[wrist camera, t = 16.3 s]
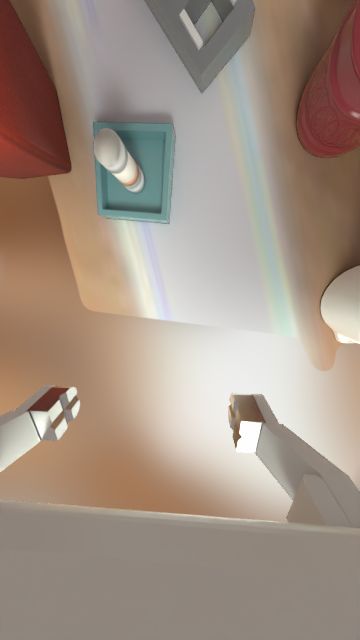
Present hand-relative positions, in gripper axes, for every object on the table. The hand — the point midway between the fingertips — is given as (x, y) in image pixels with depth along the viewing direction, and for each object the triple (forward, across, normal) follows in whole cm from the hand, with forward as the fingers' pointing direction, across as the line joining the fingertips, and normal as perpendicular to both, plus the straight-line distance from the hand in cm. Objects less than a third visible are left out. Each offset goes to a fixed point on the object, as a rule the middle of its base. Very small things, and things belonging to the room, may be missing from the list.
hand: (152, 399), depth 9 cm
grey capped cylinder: (+33, +9, -21) cm, 40 cm away
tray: (+34, +9, -22) cm, 41 cm away
